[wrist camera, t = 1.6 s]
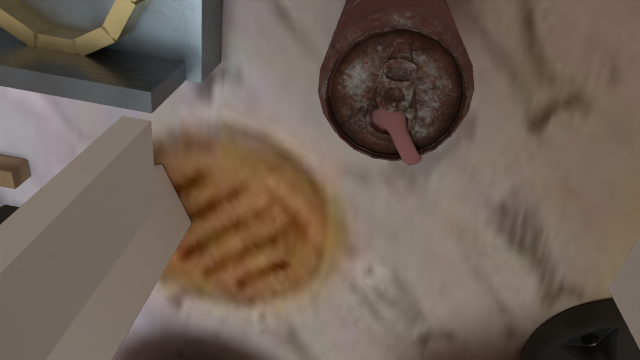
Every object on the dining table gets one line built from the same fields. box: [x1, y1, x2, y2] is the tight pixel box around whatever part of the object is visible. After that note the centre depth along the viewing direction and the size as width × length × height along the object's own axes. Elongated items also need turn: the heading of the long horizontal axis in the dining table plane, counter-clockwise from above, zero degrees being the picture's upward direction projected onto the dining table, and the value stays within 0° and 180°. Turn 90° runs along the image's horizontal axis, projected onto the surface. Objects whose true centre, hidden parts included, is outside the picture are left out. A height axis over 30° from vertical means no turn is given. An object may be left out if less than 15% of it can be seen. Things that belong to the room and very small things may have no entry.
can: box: [318, 0, 474, 165], centre depth 25 cm, size 6×6×14 cm
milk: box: [46, 164, 191, 360], centre depth 31 cm, size 6×6×22 cm
